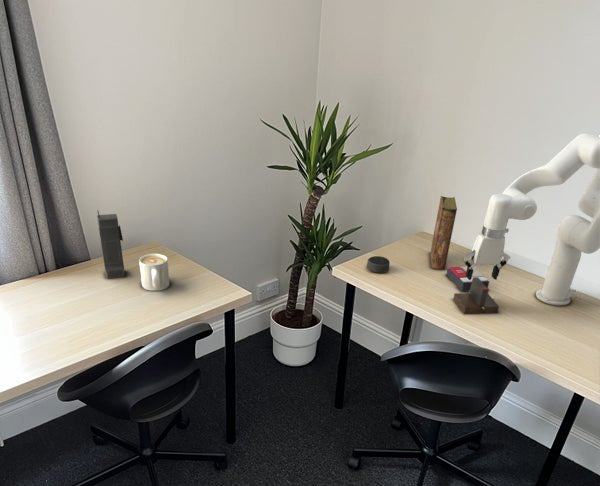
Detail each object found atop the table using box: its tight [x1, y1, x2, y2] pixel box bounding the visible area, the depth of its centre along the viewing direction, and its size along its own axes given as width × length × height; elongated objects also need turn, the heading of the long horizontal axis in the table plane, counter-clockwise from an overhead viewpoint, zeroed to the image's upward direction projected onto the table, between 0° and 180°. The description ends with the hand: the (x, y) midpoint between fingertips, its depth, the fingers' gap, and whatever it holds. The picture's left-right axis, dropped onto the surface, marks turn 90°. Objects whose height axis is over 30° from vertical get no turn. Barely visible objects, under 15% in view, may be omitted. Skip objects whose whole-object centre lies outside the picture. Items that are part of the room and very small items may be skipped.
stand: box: [452, 291, 500, 315], centre depth 223 cm, size 14×14×3 cm
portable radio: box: [96, 211, 126, 279], centre depth 223 cm, size 8×6×25 cm
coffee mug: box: [138, 253, 170, 292], centre depth 221 cm, size 13×10×10 cm
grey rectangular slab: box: [468, 277, 489, 306], centre depth 220 cm, size 10×2×7 cm, turn 8°
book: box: [429, 195, 458, 271], centre depth 247 cm, size 16×6×25 cm, turn 172°
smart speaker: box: [366, 255, 391, 274], centre depth 244 cm, size 9×9×4 cm
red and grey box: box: [446, 265, 490, 292], centre depth 238 cm, size 11×4×15 cm
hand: (481, 278), depth 217 cm, fingers open, 9 cm apart
